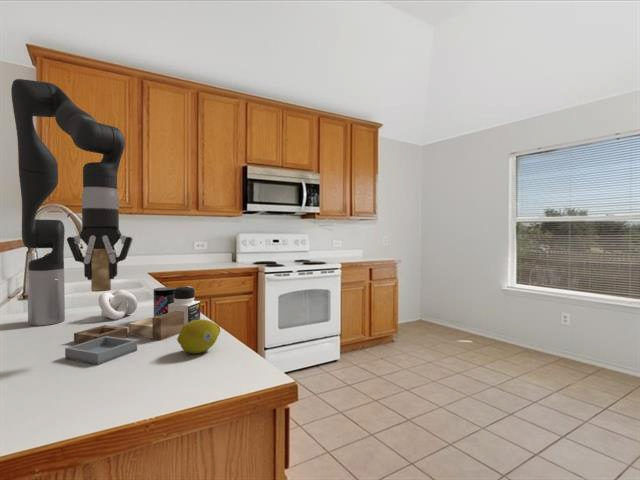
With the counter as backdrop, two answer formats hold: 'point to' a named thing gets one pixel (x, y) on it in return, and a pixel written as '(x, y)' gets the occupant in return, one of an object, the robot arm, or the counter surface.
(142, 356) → the counter surface
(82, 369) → the counter surface
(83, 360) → the tray
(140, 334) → the light wooden block
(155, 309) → the supplement container
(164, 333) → the block
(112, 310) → the white knot sculpture
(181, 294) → the medicine bottle
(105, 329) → the socket block
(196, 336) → the lemon
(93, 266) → the dowel
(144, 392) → the counter surface
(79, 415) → the counter surface
